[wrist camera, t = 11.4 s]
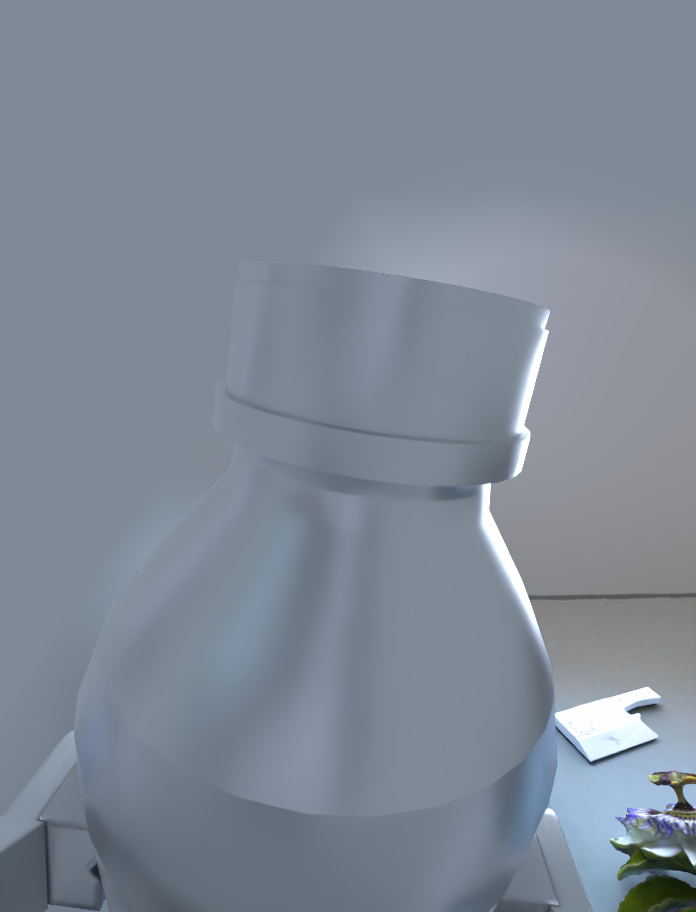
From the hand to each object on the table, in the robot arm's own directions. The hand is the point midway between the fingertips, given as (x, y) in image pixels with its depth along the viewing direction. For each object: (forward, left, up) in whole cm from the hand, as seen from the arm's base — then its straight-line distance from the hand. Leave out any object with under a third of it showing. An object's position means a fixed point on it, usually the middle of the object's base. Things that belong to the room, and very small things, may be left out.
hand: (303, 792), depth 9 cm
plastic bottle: (0, -1, -11) cm, 11 cm away
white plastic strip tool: (+25, +40, -28) cm, 55 cm away
